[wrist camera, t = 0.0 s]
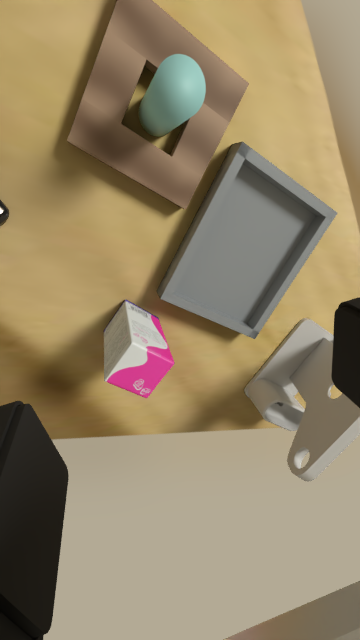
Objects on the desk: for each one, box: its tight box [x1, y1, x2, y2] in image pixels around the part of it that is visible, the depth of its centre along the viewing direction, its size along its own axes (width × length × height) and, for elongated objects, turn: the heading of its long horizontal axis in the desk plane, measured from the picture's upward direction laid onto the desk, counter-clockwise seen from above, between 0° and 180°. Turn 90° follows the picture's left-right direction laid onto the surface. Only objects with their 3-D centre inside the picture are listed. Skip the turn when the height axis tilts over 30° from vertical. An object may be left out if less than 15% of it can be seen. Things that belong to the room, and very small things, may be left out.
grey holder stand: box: [244, 318, 360, 481], centre depth 45 cm, size 17×10×18 cm, turn 145°
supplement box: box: [104, 300, 174, 398], centre depth 37 cm, size 6×6×12 cm
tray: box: [157, 142, 337, 339], centre depth 40 cm, size 20×16×3 cm
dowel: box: [139, 54, 206, 137], centre depth 27 cm, size 4×4×11 cm
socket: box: [67, 0, 249, 209], centre depth 31 cm, size 14×14×2 cm
